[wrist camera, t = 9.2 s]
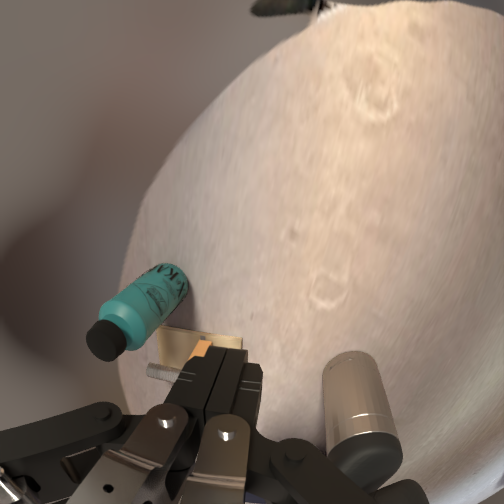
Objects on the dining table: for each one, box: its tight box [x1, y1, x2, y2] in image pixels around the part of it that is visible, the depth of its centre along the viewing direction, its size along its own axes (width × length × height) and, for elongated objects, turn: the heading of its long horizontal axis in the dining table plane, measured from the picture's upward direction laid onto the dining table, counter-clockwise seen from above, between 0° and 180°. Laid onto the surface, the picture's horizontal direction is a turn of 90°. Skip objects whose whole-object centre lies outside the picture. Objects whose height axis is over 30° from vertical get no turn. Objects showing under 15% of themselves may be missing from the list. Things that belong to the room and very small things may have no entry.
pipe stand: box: [146, 325, 242, 383], centre depth 44 cm, size 14×10×9 cm
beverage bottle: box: [86, 263, 188, 362], centre depth 36 cm, size 6×7×20 cm
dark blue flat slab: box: [245, 492, 266, 504], centre depth 55 cm, size 24×30×4 cm
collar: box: [188, 340, 212, 360], centre depth 43 cm, size 2×9×9 cm, turn 177°
